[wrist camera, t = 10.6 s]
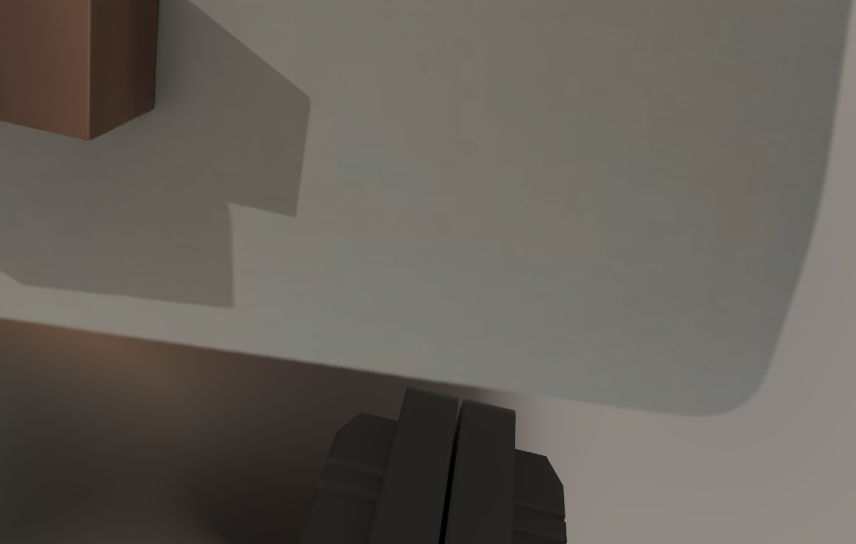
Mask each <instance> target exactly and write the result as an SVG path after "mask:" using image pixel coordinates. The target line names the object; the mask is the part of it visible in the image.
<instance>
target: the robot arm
mask: <svg viewBox="0 0 856 544" xmlns="http://www.w3.org/2000/svg"><path fill="white" fill-rule="evenodd" d="M458 401H459V397H454V396H451V395H446V394H442V393H438V392H434V391H430V390H426V389H421V388H417V387H413V386H407V389H406V393H405V397H404V401H403V404H402V408H401V413H400V416H399V420H398V421H395V420H390V419H386V418H382V417H378V416H374V415H369V414H365V413H360V414H358V415H357V416H356V417H355V418H354V419H352V420H351V421H350V422H349V423H348V424H346V425H345V426H344V427H343V428H341V429H340V430H339V431H338V432H337V434H336V436H335V439H334V442H333V444H332V447H331V450H330V452H329V455H328V458H327V461H326V465H325V466H324V469H323V471H322V474H321V476H320V479H319V482H318V486H317V488H316V490H315V492H314V495H313V498H312V501H311V503H310V506H309V509H308V511H307V514H306V517H305V519H304V522H303V525H302V528H301V530H300V533H299V536H298V538H297V541H296V543H295V544H566V543H567V536H566V522H564V519H565V506H564V491H563V485H562V483H561V481H560V479H559V478H558V476H557V474H556V473H555V471H554V469H553V467H552V466H551V464H550V462H549V461H548V459H547V457H546V456H542V455H538V454H534V453H530V452H526V451H522V450H518V449H515V419H516V417H515V416H516V415H515V411H514V410H511V409H507V408H502V407H498V406H494V405H489V404H485V403H481V402H477V401H473V400H469V399H464V398H463V399H462V402H461V405H460V408H459V412H458V415H457V409H458ZM456 415H457V419H456Z"/></svg>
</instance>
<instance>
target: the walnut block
mask: <svg viewBox="0 0 856 544" xmlns="http://www.w3.org/2000/svg"><path fill="white" fill-rule="evenodd" d="M157 18H158V0H0V121H3V122H8V123H12V124H17V125H21V126H26V127H30V128H35V129H39V130H44V131H48V132H53V133H57V134H62V135H66V136H71V137H75V138H80V139H84V140H92V139H94V138H96V137H98V136H100V135H102V134H104V133H106V132H108V131H110V130H112V129H114V128H116V127H118V126H120V125H122V124H125V123H127V122H129V121H131V120H133V119H135V118H137V117H139V116H141V115H143V114H145V113H147V112H149V111H151V110H153V108H154V85H155V63H156V40H157Z"/></svg>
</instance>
